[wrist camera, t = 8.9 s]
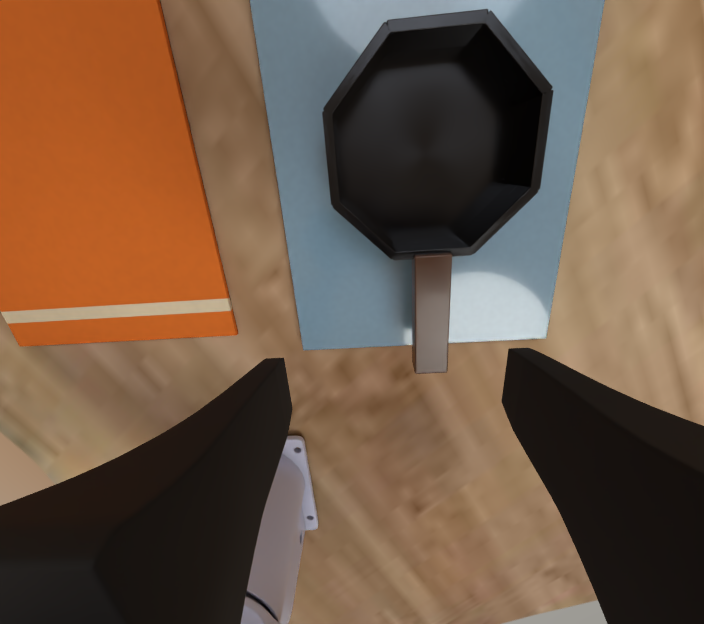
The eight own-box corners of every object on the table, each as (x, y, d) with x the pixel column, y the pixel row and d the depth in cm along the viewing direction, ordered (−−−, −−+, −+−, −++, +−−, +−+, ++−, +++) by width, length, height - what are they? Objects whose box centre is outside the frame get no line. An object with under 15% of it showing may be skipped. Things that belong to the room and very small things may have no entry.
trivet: (539, 332, 20) (546, 338, 19) (305, 344, 21) (302, 350, 20) (609, -93, 13) (624, -109, 12) (246, -48, 14) (239, -60, 13)
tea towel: (238, 333, 21) (236, 335, 20) (23, 344, 21) (19, 346, 21) (126, -142, 13) (120, -149, 12) (-207, -93, 13) (-220, -99, 13)
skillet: (322, 52, 14) (312, 24, 11) (528, 30, 14) (571, -4, 11) (349, 347, 20) (347, 377, 17) (495, 340, 19) (518, 369, 16)
